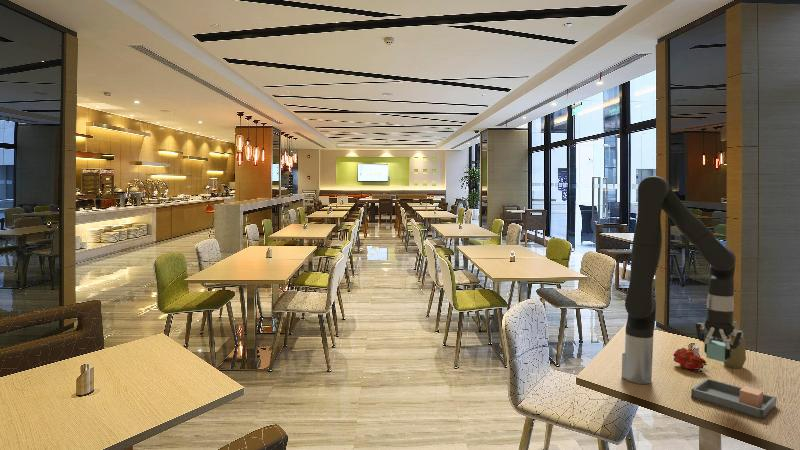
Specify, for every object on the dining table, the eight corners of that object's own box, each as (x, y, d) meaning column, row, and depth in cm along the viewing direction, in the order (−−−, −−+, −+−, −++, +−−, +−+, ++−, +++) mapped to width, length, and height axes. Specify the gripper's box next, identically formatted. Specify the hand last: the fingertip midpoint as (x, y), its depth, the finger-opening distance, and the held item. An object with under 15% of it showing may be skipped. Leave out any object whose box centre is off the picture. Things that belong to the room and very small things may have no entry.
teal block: (706, 357, 162) (707, 343, 161) (711, 354, 165) (712, 340, 165) (723, 361, 158) (724, 347, 158) (728, 358, 161) (729, 343, 161)
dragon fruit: (671, 366, 193) (703, 380, 184) (665, 359, 188) (698, 373, 179) (680, 348, 195) (712, 361, 186) (675, 340, 190) (708, 353, 180)
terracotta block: (738, 404, 155) (739, 390, 155) (743, 400, 158) (744, 385, 158) (757, 410, 151) (758, 395, 151) (762, 405, 155) (763, 391, 154)
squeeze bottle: (735, 362, 194) (737, 318, 192) (750, 369, 185) (753, 324, 184) (716, 362, 193) (718, 319, 192) (730, 370, 185) (733, 325, 184)
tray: (691, 397, 162) (691, 388, 162) (706, 386, 171) (707, 378, 171) (762, 419, 147) (763, 410, 146) (775, 406, 155) (776, 397, 155)
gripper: (692, 305, 163) (689, 353, 165) (741, 314, 152) (738, 365, 154) (700, 301, 168) (698, 348, 169) (749, 309, 157) (746, 360, 158)
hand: (717, 356), depth 161 cm, fingers closed on teal block, 5 cm apart
